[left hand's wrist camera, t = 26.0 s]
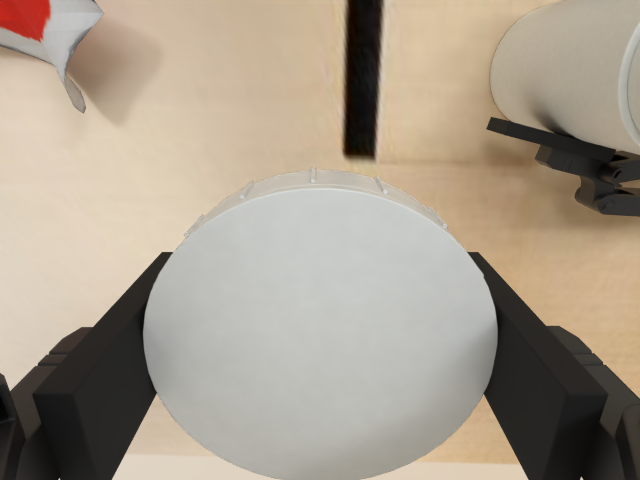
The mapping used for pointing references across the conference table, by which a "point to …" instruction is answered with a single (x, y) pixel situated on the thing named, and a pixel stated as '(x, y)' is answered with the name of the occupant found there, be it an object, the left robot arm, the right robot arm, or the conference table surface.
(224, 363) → the lid
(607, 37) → the jar
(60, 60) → the fish
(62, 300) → the conference table surface
